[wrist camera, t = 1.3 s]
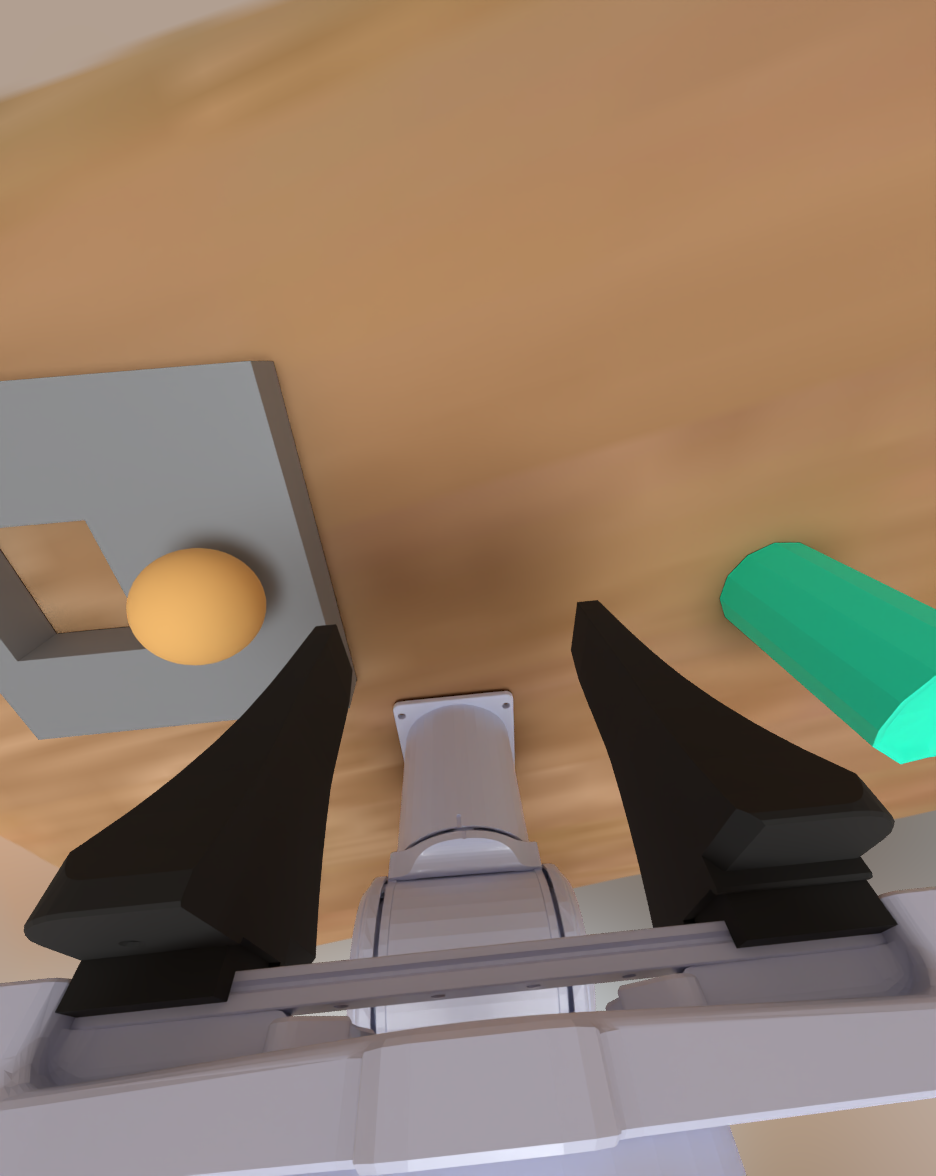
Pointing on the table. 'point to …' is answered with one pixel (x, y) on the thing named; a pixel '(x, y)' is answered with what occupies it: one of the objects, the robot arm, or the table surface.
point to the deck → (155, 535)
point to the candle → (843, 642)
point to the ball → (196, 606)
